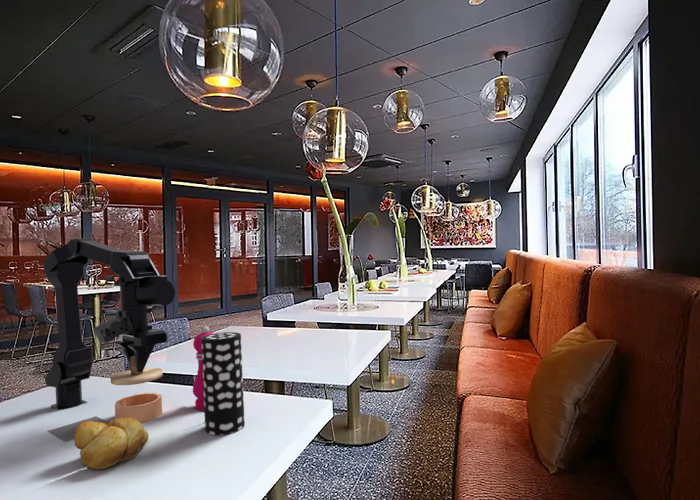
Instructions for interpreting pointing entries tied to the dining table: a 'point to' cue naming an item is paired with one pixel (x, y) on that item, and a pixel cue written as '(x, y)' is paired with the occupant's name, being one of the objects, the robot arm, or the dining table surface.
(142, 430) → the bread roll
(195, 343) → the pepper mill
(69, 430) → the mat
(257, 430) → the dining table surface
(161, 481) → the dining table surface
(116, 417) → the bowl
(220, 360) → the white-spotted black cylinder
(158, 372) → the lid
